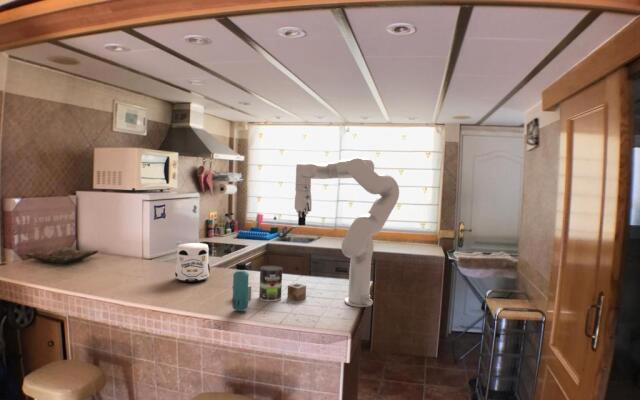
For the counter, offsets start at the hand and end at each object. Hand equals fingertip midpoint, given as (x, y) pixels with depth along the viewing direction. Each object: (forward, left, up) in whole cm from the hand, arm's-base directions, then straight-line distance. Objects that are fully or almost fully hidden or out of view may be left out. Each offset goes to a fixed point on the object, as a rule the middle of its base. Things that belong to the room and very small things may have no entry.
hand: (301, 225), depth 192 cm
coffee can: (-8, +19, -32) cm, 38 cm away
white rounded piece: (+35, +45, -32) cm, 66 cm away
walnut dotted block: (-13, +8, -32) cm, 36 cm away
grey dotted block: (-3, +30, -32) cm, 44 cm away
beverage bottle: (-19, +37, -32) cm, 53 cm away
